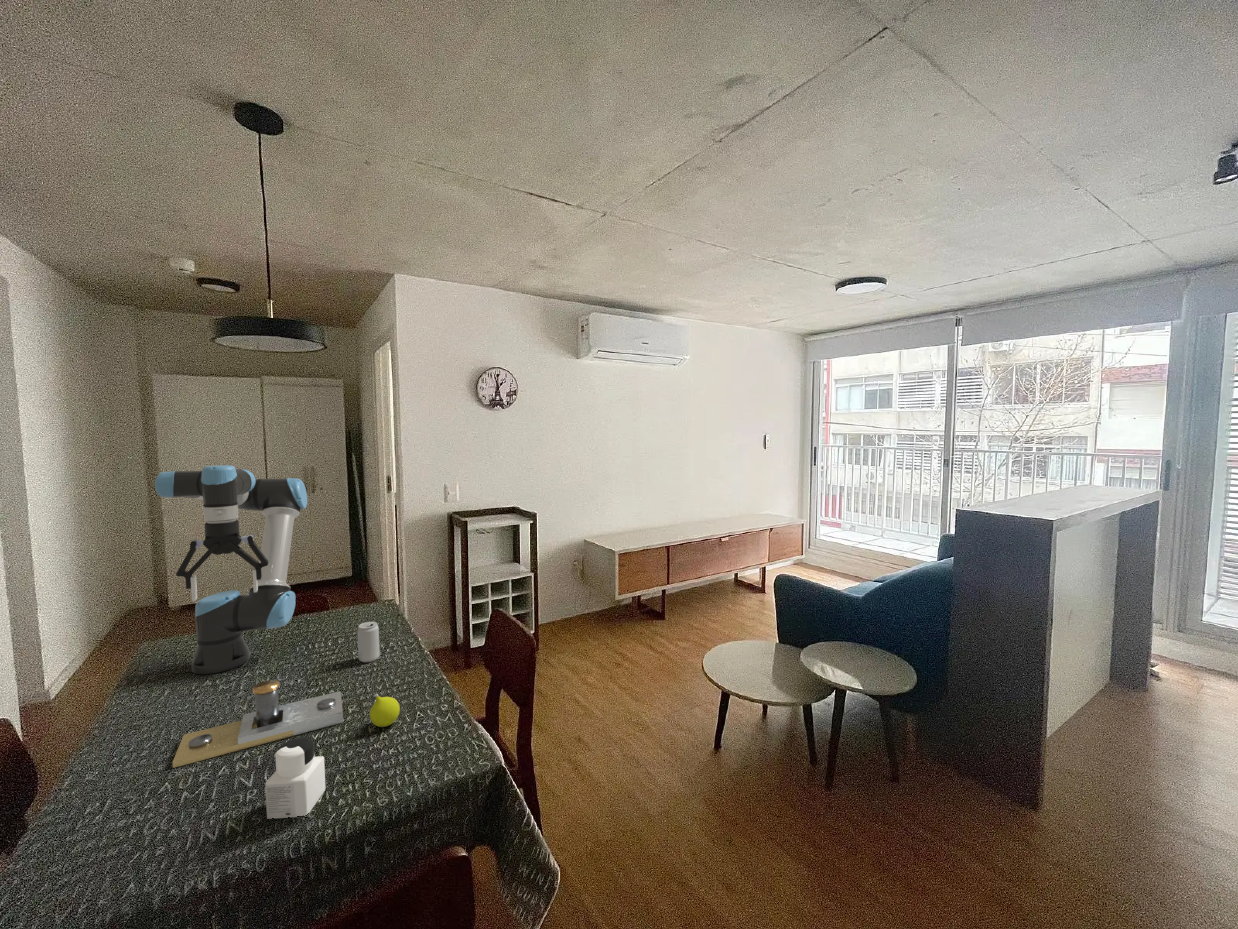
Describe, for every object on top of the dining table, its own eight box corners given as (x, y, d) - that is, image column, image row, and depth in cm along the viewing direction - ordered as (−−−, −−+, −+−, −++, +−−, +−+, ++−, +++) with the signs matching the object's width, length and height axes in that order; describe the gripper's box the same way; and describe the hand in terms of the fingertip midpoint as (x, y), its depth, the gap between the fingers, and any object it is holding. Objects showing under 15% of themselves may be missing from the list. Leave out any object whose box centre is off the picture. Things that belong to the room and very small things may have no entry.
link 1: (184, 740, 124) (183, 732, 124) (295, 712, 137) (294, 705, 136) (172, 768, 114) (172, 759, 114) (293, 735, 126) (293, 727, 126)
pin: (256, 728, 129) (253, 683, 129) (282, 722, 132) (279, 678, 131) (253, 740, 125) (251, 693, 124) (280, 732, 128) (278, 687, 127)
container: (288, 792, 107) (285, 733, 106) (326, 789, 107) (323, 731, 107) (266, 820, 99) (262, 757, 98) (307, 817, 100) (304, 755, 99)
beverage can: (371, 664, 165) (369, 629, 164) (354, 662, 166) (352, 627, 165) (383, 655, 171) (382, 621, 170) (367, 654, 172) (366, 620, 171)
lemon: (364, 729, 129) (362, 692, 128) (385, 714, 136) (384, 679, 135) (384, 735, 126) (383, 697, 126) (406, 720, 133) (404, 684, 132)
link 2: (244, 725, 131) (243, 712, 130) (341, 701, 142) (340, 689, 142) (238, 750, 120) (237, 736, 120) (343, 722, 132) (342, 709, 132)
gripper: (158, 527, 129) (163, 607, 131) (275, 518, 143) (278, 591, 144) (165, 523, 136) (170, 599, 137) (276, 514, 149) (280, 584, 150)
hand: (226, 595), depth 141 cm, fingers open, 13 cm apart
